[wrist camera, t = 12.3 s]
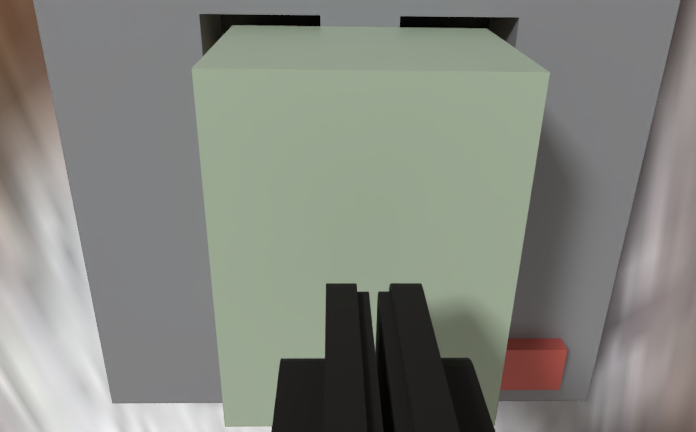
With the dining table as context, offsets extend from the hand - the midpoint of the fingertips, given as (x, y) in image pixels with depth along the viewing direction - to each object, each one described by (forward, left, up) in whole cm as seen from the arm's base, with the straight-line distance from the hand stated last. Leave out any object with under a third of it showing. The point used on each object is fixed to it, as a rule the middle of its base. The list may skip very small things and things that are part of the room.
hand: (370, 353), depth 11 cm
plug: (0, 0, -10) cm, 10 cm away
